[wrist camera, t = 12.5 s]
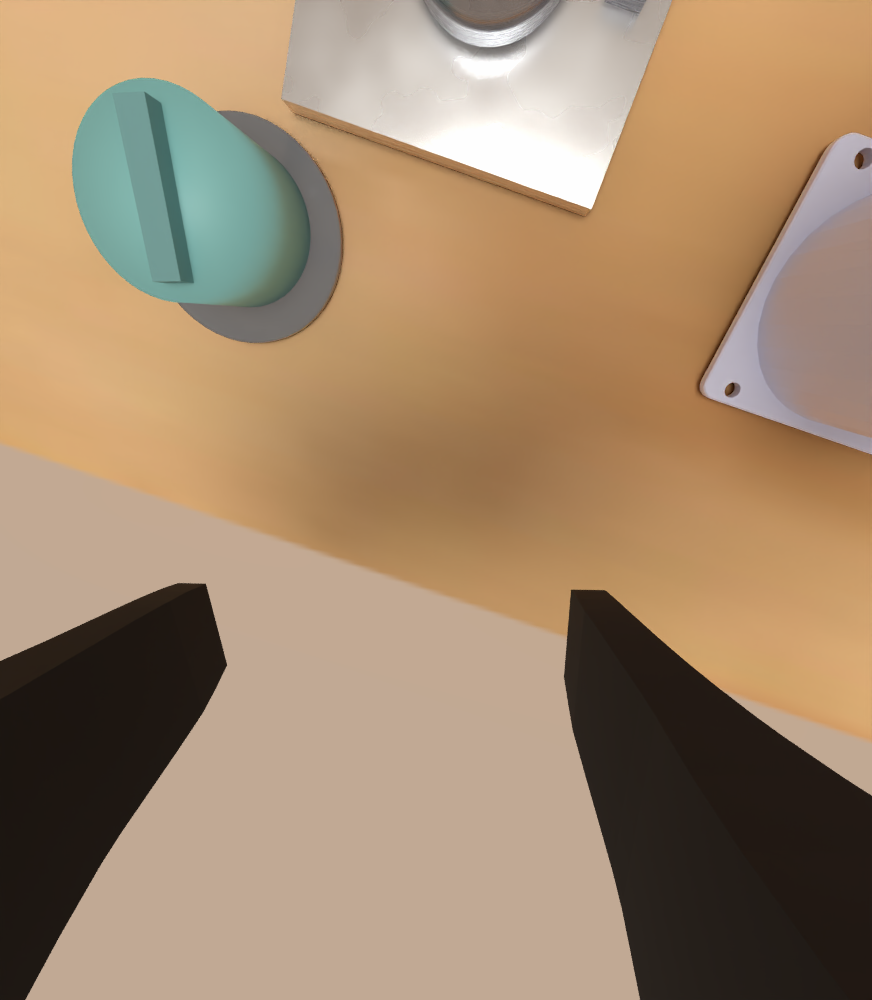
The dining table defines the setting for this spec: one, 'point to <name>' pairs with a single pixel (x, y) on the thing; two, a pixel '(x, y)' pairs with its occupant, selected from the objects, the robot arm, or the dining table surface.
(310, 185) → the coaster
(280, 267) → the cap
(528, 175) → the post plinth
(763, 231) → the dining table surface
